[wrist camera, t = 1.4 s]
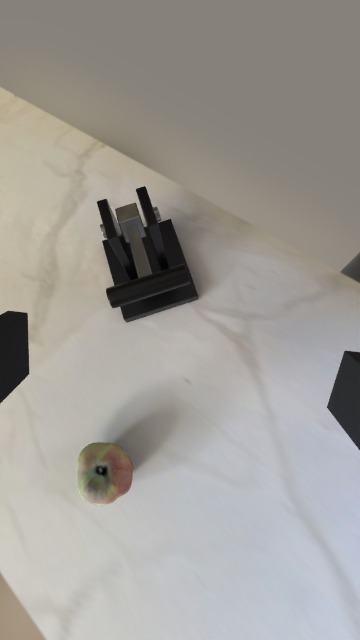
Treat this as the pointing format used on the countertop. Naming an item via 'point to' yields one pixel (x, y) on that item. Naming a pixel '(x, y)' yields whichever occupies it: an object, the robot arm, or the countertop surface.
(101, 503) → the apple
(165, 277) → the lever
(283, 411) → the countertop surface
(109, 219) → the black lever stand
